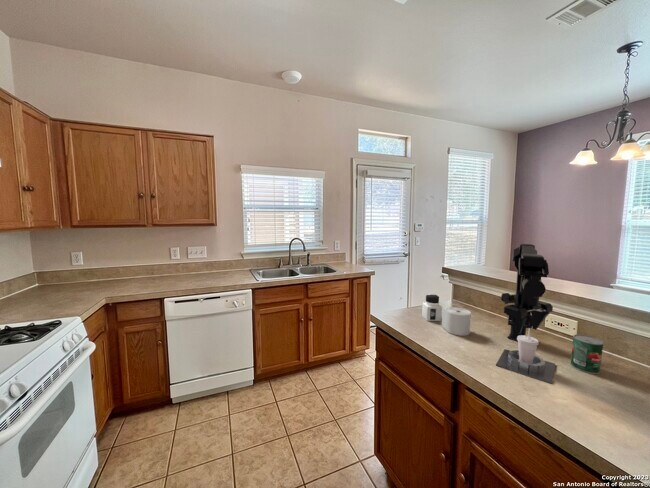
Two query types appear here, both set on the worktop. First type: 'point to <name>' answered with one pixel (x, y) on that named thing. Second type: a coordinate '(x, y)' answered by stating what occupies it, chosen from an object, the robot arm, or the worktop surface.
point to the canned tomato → (586, 354)
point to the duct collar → (527, 366)
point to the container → (432, 308)
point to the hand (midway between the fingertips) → (526, 331)
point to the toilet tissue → (456, 321)
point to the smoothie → (527, 347)
